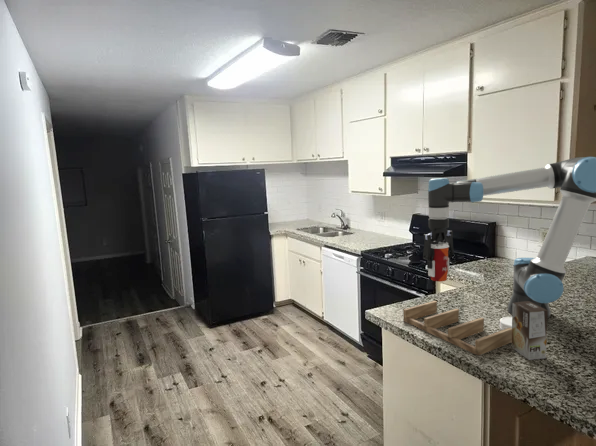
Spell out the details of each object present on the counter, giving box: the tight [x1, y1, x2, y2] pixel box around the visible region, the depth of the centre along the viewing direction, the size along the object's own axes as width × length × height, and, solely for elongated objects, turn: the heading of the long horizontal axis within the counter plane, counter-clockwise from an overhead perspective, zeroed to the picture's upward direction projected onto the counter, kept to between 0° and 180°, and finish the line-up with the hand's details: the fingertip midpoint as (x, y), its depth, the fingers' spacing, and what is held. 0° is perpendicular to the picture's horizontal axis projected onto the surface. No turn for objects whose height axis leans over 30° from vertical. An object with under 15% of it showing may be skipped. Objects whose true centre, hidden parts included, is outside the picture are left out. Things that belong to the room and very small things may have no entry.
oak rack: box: [402, 300, 512, 357], centre depth 146 cm, size 35×18×5 cm, turn 28°
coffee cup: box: [430, 241, 449, 283], centre depth 154 cm, size 8×8×15 cm
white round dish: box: [499, 316, 512, 331], centre depth 145 cm, size 10×10×4 cm
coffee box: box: [511, 301, 548, 361], centre depth 126 cm, size 9×6×16 cm
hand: (438, 274), depth 155 cm, fingers closed on coffee cup, 7 cm apart
